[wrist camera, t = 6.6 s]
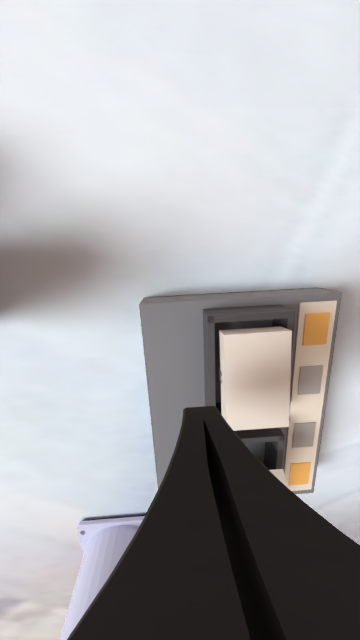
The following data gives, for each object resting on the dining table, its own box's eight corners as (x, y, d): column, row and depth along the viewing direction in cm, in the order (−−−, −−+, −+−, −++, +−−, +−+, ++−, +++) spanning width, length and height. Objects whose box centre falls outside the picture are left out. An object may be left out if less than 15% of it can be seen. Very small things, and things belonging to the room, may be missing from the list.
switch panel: (297, 466, 21) (328, 517, 17) (161, 476, 21) (158, 532, 17) (316, 287, 17) (366, 297, 12) (144, 297, 16) (134, 311, 12)
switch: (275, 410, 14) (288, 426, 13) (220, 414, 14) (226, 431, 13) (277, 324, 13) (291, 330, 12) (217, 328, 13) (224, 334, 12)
